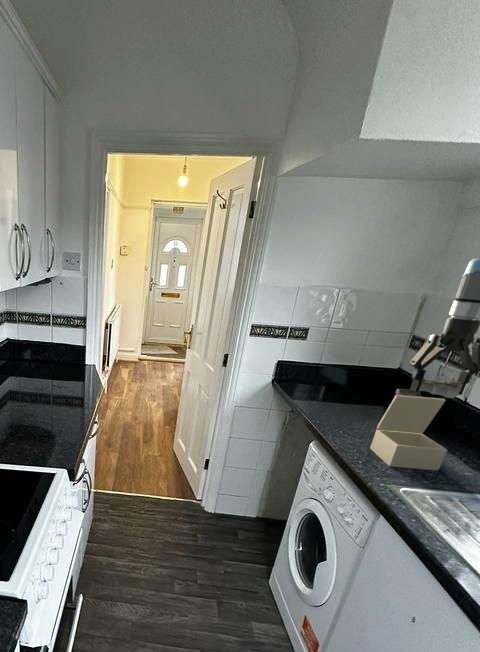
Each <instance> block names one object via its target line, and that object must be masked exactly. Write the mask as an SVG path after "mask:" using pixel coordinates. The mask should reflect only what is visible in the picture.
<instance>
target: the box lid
mask: <svg viewBox="0 0 480 652" xmlns="http://www.w3.org/2000/svg"><path fill="white" fill-rule="evenodd" d="M421 393H422V391H418V392H415V391H413V390H411V389H405V388H397V389H396V390H395V395H394V398H393V399H392V400H391V402H390V404H389V406H388V407H387V409H386V411H385V413H384V414H383V416H382V418H381V420H380V421H379V422H378V424H377V426H376V430H387V431H398V432H410V433H422V434H424V432H425V431H426V429H427V428H428V427H429V425H430V424H431V422H432V421H433V419H434V418H435V417H436V415H437V414H438V412H439V411H440V409H441V408H442V407H443V405H444V403H445V402H446V398H440V397H427V396H422V395H421Z"/></svg>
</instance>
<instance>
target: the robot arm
mask: <svg viewBox="0 0 480 652" xmlns="http://www.w3.org/2000/svg"><path fill="white" fill-rule="evenodd" d="M461 277H462V278H461V280H460V282H459V286H458V288H457V291H456V294H455V297H454V299H453V301H452V305H451V307H450V310H449V312H448V315H449V317H447V318H446V320H445V322H444V325H443V328H442V333H441V334H440V335H437V334H434V333H430V334H429V335H428V338H427V339H426V342H425V343H424V344H423V345H422V347H421V348H420V349H419V350H418V352H417V353H416V354H415V356H413V358H412V359H411V360H410V361H409V366H411V367H413V368H414V370H413V373H412V375H411V379H412V382H411V385H410V387H409V390H413V391H415V392H418V391H419V388H420V386H421V383H422V380H423V378H425V375H426V371H427V370H426V369H425V368H427V367H428V366H429V365H430V364H431V363H433V362H434V361H435V360H436V359H437V358H439V357H440V356H442V355H443V354H445V353H446V352H456V353H458V355H459V358H460V360H461V363H462V367H463V370H462V371H460V373H459V375H458V377H457V380H456V382H458V381H459V382H463V386H462V387H461V391H459V393H458V396H462V395H463V392H464V390H465V387H466V385H467V384H469V383H470V382H471V379H472V377H473V375H476V374H477V373H479V372H480V337H479V336H476V337H475V334H477V333H478V330H479V328H480V257H477V258H472V259H471V260H470V261H469V262H468V264H467V266H466V268H465V271H464V273H463V274H462V276H461ZM470 345H471V350H470V347H469V346H470Z"/></svg>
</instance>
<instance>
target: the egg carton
mask: <svg viewBox="0 0 480 652" xmlns="http://www.w3.org/2000/svg"><path fill="white" fill-rule="evenodd" d="M462 386H463V382H459V381H458V382H457V380H450V381H449V382H448V381H447V380H446V381H445V380H442V381H439V380H435V379H426V378H425V377H424V378H423V380H422V383H421V386H420V388H419V391H420V392H427V393H430V394H431V395H439V396H442V397H444V398H446V399H456V398H457V397H458V396H459V395H458V393H459V391H461V387H462Z"/></svg>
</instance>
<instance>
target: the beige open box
mask: <svg viewBox="0 0 480 652" xmlns="http://www.w3.org/2000/svg"><path fill="white" fill-rule="evenodd" d="M369 449H370V450H371V451H372V452H373V453H374V454H375V455H376V456H378V457H379V459H381V460H382V461H383V462H384V463H385V464H386V465H387V466H388V467H394V468H404V469H414V470H415V469H416V470H427V471H439V470H440V468H441V466H442V463H443V461H444V459H445V456H446V454H447V452H448V449H447V448H445V447H444V446H442V445H441V444H439V443H438V442H436V441H434V440H433V439H431V438H430V437H428V436H427V435H425V434H424V433H418V432H407V431H395V430H383V429H375V433H374V436H373V439H372V441H371V444H370V446H369Z"/></svg>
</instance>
